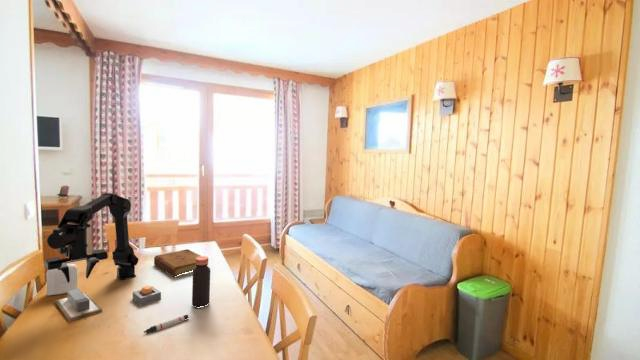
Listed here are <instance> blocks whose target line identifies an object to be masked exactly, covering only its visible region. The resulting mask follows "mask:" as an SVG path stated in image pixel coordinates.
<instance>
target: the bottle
mask: <svg viewBox="0 0 640 360" xmlns="http://www.w3.org/2000/svg"><path fill="white" fill-rule="evenodd" d="M208 265H209V257H208V256H205V255H201V256H200V257H197V258H196V267H195V268H194V270H193V273H192V288H191V289H192V290H191V291H192V293H191V294H192V297H191V305H193V306H196V307H200V306H205V305H207V304H208V303H209V304H210V300H211V299H210V298H211V297H210V296H211V295H210V291H211V267H209V266H208ZM193 306H192V307H193Z"/></svg>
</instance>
